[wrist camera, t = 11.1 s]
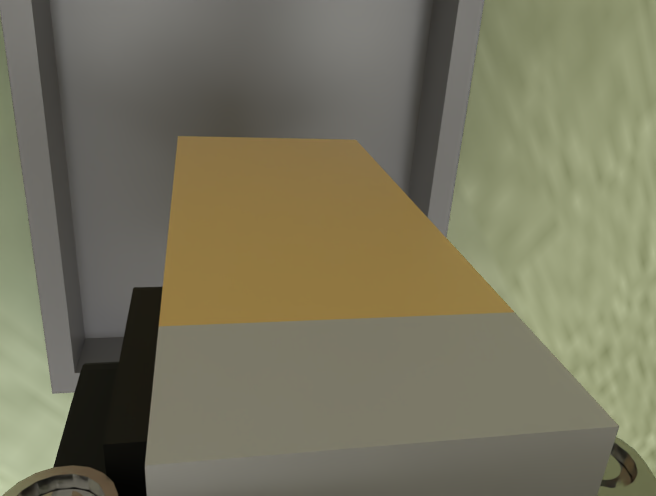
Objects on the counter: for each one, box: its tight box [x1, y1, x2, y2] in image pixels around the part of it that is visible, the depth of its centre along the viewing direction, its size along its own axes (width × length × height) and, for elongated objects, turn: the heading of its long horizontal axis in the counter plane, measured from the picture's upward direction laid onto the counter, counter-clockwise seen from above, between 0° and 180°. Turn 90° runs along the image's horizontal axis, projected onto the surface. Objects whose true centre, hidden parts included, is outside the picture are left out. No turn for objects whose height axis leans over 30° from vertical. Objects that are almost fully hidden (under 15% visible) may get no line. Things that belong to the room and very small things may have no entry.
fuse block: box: [145, 136, 619, 496], centre depth 11 cm, size 4×6×10 cm, turn 176°
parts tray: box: [0, 0, 484, 394], centre depth 21 cm, size 14×16×3 cm
